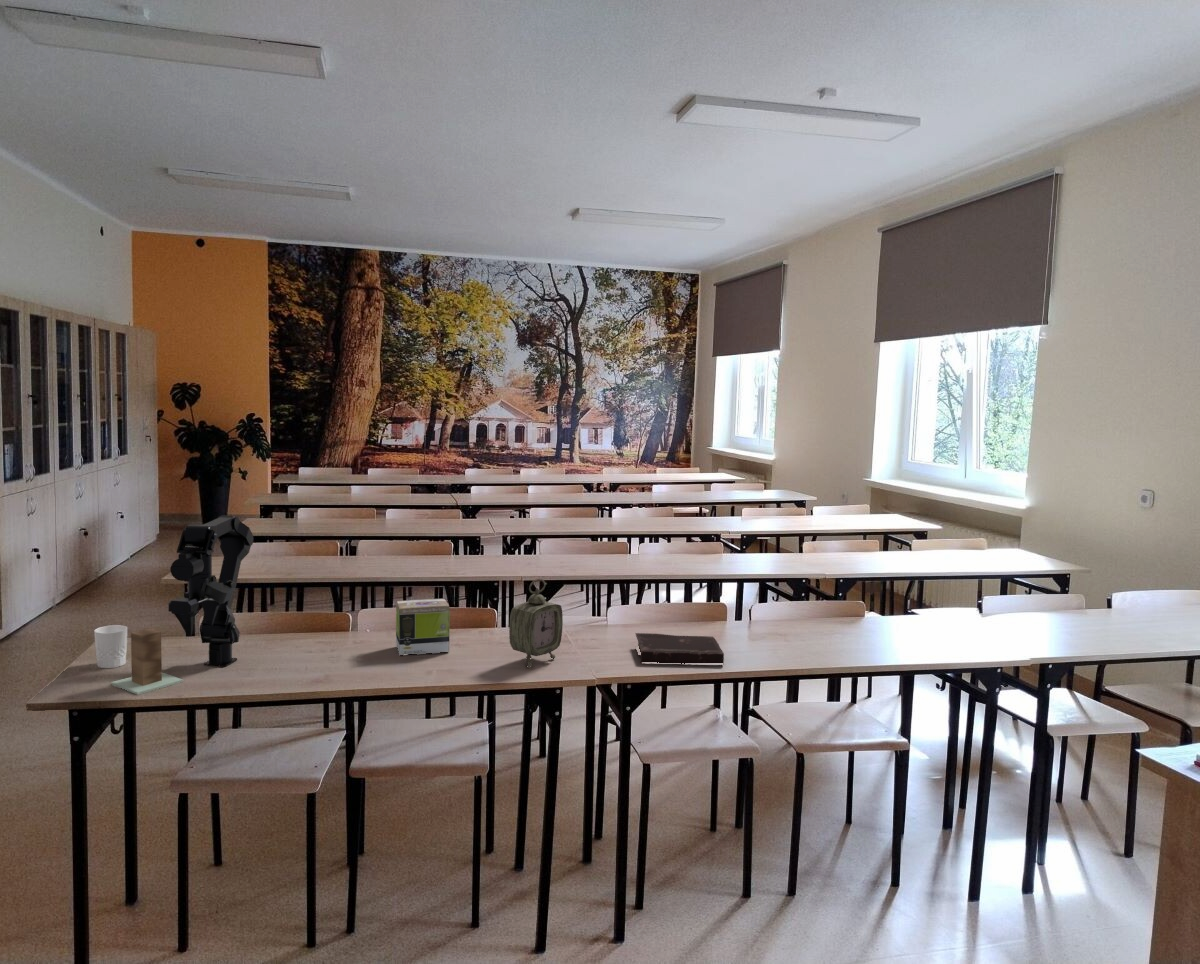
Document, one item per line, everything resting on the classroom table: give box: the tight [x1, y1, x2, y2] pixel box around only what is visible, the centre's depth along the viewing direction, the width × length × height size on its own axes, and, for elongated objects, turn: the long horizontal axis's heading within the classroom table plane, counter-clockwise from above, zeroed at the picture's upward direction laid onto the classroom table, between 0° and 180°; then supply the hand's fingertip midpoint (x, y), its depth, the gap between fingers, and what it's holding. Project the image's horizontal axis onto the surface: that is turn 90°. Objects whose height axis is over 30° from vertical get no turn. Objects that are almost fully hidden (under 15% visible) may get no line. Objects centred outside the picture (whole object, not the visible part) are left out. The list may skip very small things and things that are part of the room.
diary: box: [635, 632, 725, 664], centre depth 261 cm, size 19×25×5 cm
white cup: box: [93, 624, 128, 669], centre depth 231 cm, size 8×8×10 cm
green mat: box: [110, 671, 184, 695], centre depth 219 cm, size 12×12×1 cm
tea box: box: [395, 598, 451, 656], centre depth 255 cm, size 15×10×15 cm, turn 109°
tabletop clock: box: [508, 578, 564, 668], centre depth 248 cm, size 14×9×25 cm, turn 143°
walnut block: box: [130, 628, 163, 686], centre depth 218 cm, size 5×5×13 cm
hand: (200, 630), depth 222 cm, fingers open, 9 cm apart
